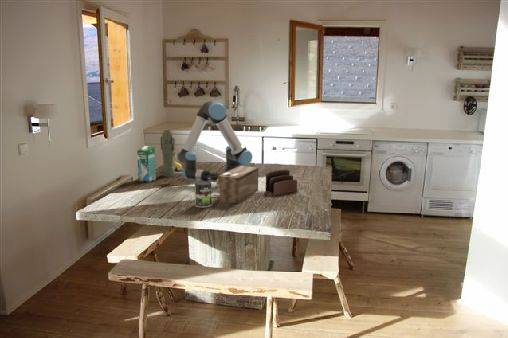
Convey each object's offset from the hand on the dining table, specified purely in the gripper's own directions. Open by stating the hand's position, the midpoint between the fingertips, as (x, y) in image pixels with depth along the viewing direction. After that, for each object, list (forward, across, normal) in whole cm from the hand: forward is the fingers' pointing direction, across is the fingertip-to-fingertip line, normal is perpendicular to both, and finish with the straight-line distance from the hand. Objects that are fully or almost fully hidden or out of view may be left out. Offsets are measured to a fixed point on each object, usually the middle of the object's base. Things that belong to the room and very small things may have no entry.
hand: (233, 178), depth 315 cm
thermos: (-64, -18, -8) cm, 67 cm away
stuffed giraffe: (-66, -35, -9) cm, 75 cm away
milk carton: (-70, +1, -8) cm, 71 cm away
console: (+9, +10, -8) cm, 15 cm away
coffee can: (-2, +39, -8) cm, 40 cm away
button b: (0, +10, -2) cm, 10 cm away
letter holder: (+31, -11, -8) cm, 34 cm away
